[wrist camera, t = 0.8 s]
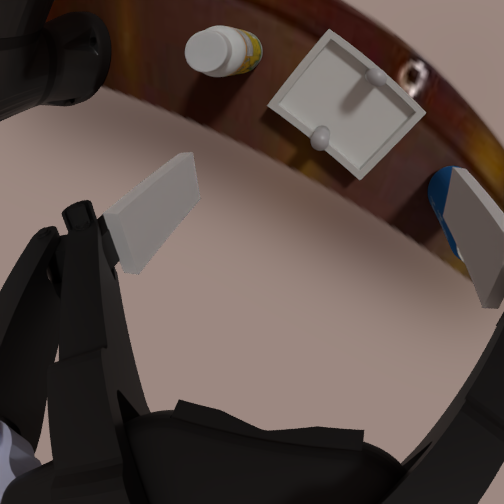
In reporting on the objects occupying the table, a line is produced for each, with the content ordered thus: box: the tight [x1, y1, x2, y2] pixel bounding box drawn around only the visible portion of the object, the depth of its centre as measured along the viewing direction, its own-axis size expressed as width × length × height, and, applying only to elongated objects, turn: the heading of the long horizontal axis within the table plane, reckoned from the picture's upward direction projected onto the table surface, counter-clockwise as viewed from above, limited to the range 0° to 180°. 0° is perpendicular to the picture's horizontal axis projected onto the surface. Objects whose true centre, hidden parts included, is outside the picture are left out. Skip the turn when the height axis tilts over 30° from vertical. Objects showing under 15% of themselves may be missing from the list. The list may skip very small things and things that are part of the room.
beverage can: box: [428, 166, 465, 263], centre depth 27 cm, size 6×6×12 cm
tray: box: [267, 29, 426, 180], centre depth 28 cm, size 13×11×5 cm
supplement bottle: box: [185, 26, 262, 77], centre depth 26 cm, size 5×5×10 cm
